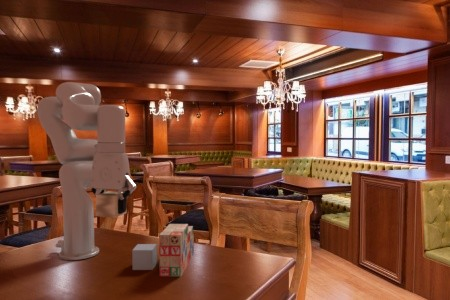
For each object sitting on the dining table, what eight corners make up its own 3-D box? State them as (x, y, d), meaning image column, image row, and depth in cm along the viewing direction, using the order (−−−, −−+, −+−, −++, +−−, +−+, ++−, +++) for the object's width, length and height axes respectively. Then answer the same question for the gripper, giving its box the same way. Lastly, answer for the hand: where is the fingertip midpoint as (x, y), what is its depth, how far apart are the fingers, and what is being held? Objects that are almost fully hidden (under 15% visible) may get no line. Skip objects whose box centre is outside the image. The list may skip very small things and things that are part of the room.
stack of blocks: (176, 252, 119) (175, 217, 119) (194, 252, 119) (193, 217, 118) (159, 277, 98) (158, 234, 97) (181, 277, 97) (180, 234, 97)
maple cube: (96, 216, 97) (95, 194, 96) (108, 211, 102) (108, 191, 102) (114, 217, 95) (114, 196, 95) (126, 212, 101) (126, 192, 100)
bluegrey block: (132, 270, 103) (132, 250, 103) (137, 262, 109) (137, 244, 109) (152, 270, 103) (152, 250, 103) (156, 262, 109) (156, 244, 109)
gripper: (76, 148, 96) (77, 212, 97) (131, 150, 92) (131, 217, 93) (93, 147, 104) (94, 207, 105) (145, 149, 99) (145, 211, 100)
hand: (111, 211), depth 99 cm, fingers closed on maple cube, 6 cm apart
